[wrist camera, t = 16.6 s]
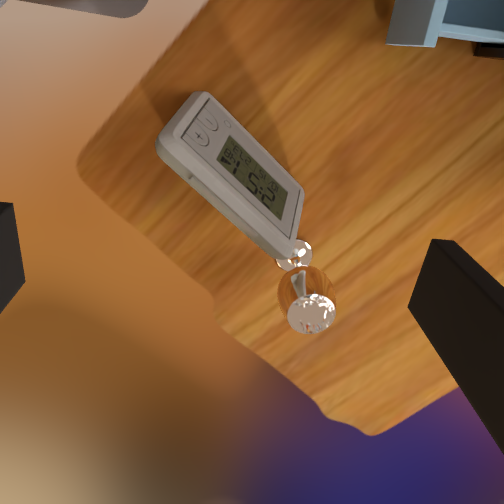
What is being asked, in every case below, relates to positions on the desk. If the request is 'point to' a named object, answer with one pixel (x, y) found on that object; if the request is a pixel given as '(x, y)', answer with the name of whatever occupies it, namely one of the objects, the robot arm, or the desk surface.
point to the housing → (489, 50)
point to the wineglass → (305, 292)
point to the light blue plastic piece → (446, 21)
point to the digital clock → (233, 173)
